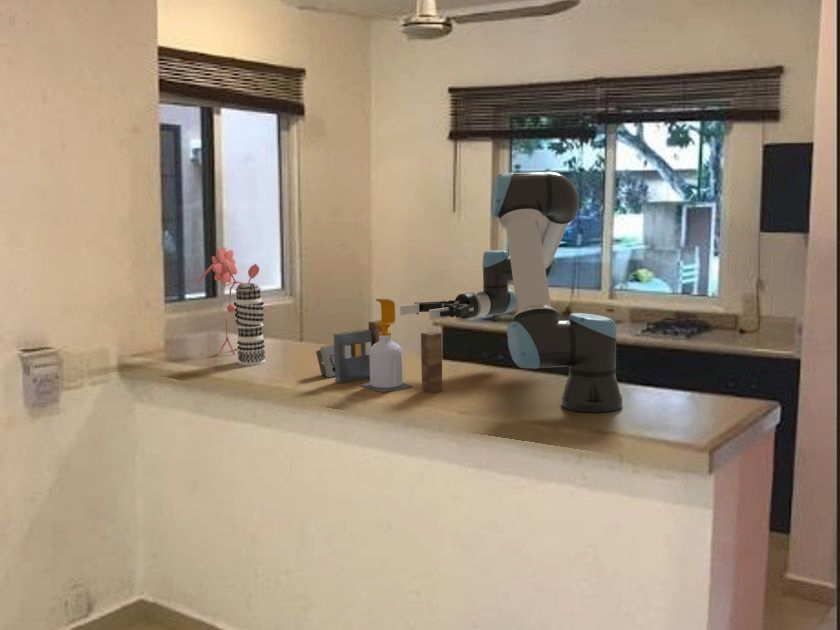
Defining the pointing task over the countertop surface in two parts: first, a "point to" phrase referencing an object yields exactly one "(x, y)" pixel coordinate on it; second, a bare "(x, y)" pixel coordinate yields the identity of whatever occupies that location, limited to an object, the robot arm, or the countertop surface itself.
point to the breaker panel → (352, 355)
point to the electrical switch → (326, 360)
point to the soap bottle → (386, 352)
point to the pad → (386, 388)
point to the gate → (423, 357)
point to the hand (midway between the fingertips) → (414, 312)
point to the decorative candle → (249, 324)
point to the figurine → (227, 277)
